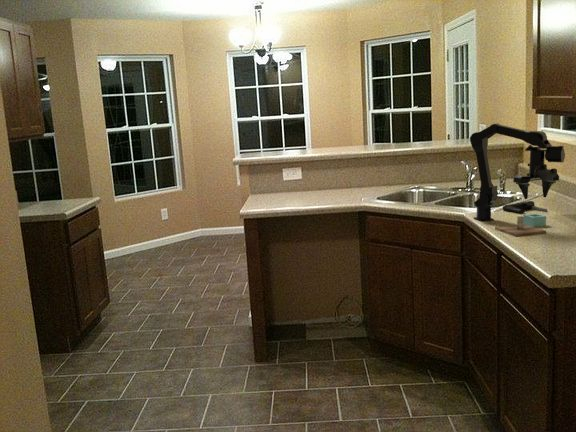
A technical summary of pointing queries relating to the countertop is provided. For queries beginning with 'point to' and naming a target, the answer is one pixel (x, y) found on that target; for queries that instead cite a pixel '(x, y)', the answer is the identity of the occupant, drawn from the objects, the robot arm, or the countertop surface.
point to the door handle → (522, 207)
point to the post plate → (520, 229)
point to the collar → (534, 220)
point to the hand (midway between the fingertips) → (535, 198)
